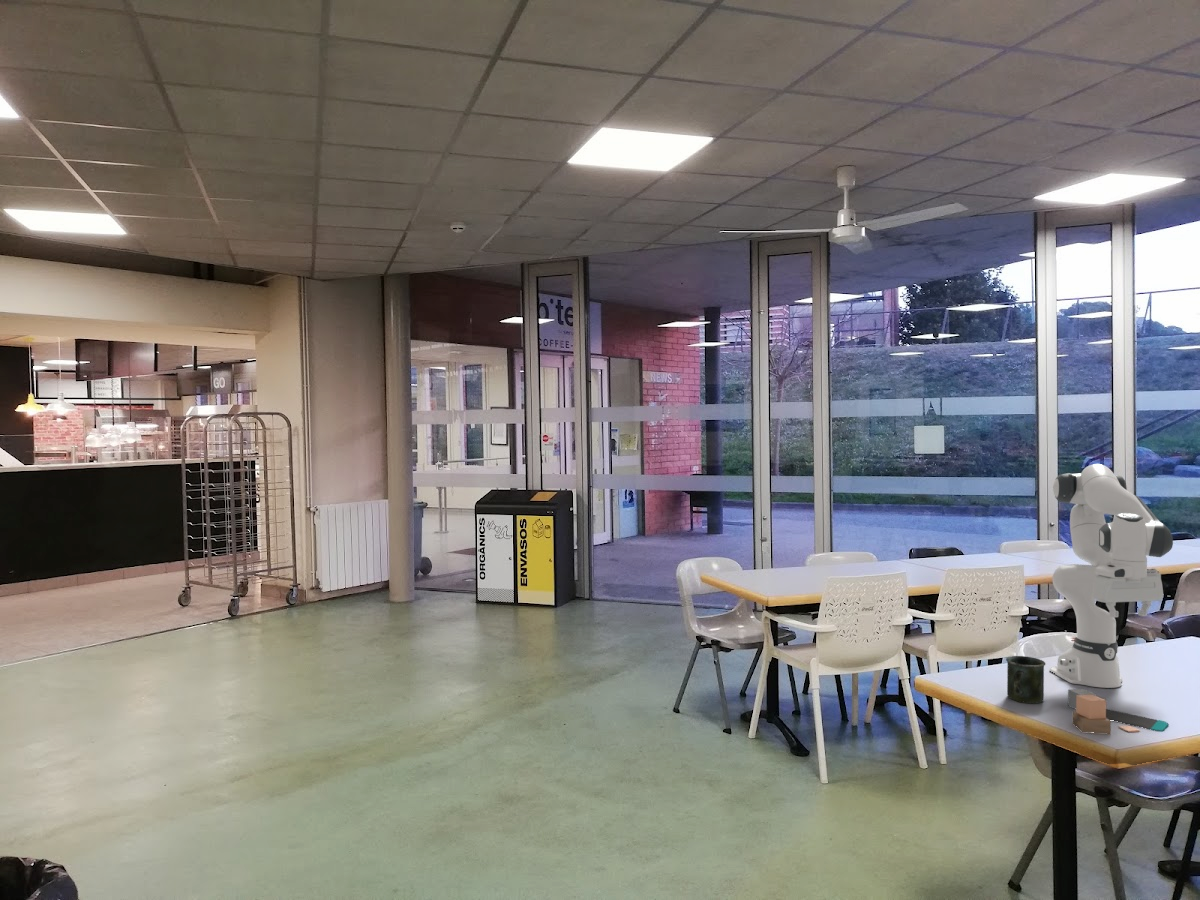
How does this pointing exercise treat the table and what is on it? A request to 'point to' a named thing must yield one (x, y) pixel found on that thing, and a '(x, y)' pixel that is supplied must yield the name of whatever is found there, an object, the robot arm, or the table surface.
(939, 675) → the table surface
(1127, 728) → the tile
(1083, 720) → the walnut block
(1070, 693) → the grey cube
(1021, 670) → the mug
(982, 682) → the table surface
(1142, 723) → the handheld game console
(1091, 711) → the terracotta cube
